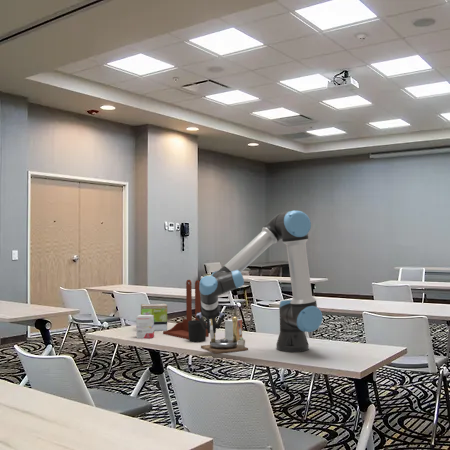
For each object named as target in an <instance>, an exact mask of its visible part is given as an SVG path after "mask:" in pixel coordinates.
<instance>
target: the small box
mask: <svg viewBox="0 0 450 450" xmlns="http://www.w3.org/2000/svg"><path fill="white" fill-rule="evenodd" d="M241 337H242V338H243V319H241V318H238V321H237V342H238V340H239V338H241ZM224 338H226V339H228V340H233V321H232V318H231V319H225V320H224Z"/></svg>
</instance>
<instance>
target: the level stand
mask: <svg viewBox="0 0 450 450" xmlns="http://www.w3.org/2000/svg"><path fill="white" fill-rule="evenodd" d="M200 349H203V350H205V351H208V352H210V353H213V354H216V355H219V354H220V355H221V354H222V355H223V354H230V353H237V352H245V351H246V352H247V351H249V347H246V339H245V338H243V336H242V337H241V338H239V340H238V341H237V347H234V348H224V349H222V348H212V347H210V344H205V345H200Z"/></svg>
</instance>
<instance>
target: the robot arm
mask: <svg viewBox="0 0 450 450" xmlns="http://www.w3.org/2000/svg"><path fill="white" fill-rule="evenodd" d="M310 219H311V218H309V215H308V214H306V213H305V212H304V211H301V210H290V211H289V210H288V211H282V212H280V213H278V214H276V215H274V216H273V218H271V220H269V221H268V222H266V224H265V225H264V226H263V227H262V228H261V232H259V233H258V234H257V235H256V236H255V237H254V238H253V239H251V240H250V242H248V243H247V244H246V245H245V246H244V247H242V248H241V250H239V252H237V254H235V255H234V256H233V257H231V259H230V260H229V261H228V262H226V263H225V264H224V265H223V266H221V268H220V269H218V270H216V271H214V272H212V273H211V275H205V276H203V277H202V278H200V280H199V281H200V284H199V290H200V297H201V312H200V313H199V312H197V314H196V318H197V319H199V321H200V323H201V325H202V327H203V329H207V331H208V333H209V338H210V340H211V339H214V333H215V334H216V332H217V329H218V330H220V329H221V324H222V322H223V320H224V319H225V315H226V312H225V311H222V312H221V311H220V308H219V296H222V295H223V294H226V293H229V292H231V291H233V290H237V289H239V288H241V287H243V286H244V284H245V279H244V276H243V274H242V273H243V271H244V270H246V268H247V267H249V266H250V265H251V264H252V263H253V262H254V261H255V260H256V259H258V258H259V256H261V255H262V254H263V253H264V252H265V251H266V250H267V249H268V248H270V247H271V246H272V245H273V244H277V243H278V242H280V241H281V240H282V243H283V244H284V245H285V246H286V252H287V259H288V261H287V262H288V267H289V277H290V284H291V291H292V299H289V300H287V299H285V300H281V301H280V302H279V306H278V307H279V308H278V309H279V334H278V338H277V340H276V341H277V342H276V347H275V348H276V350H278V351H280V352H291V353H294V352H295V353H296V352H305V351H308V350H309V348H310V345H309V340H308V338H307V336H306V332H307V333H311V332H315V331H316V330H318V329H319V328H320V326H321V325H322V323H323V318H324V317H323V313H322V311H321V309H320V308H319V307H318V302H317V299H316V298H315V297H314V296H313V293H312V284H311V276H310V268H309V261H308V251H307V244H306V243H307V242H308V241H309V232H310V231H311V227H312V223H311V220H310ZM217 317H218V320H217V322H216V321H215V318H216V319H217ZM204 318H205V319H204ZM210 319H212V324H213V325H211V321H210ZM205 321H206V323H207V324H206V323H205Z"/></svg>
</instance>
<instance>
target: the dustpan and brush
mask: <svg viewBox="0 0 450 450" xmlns="http://www.w3.org/2000/svg"><path fill="white" fill-rule="evenodd" d="M199 284H200V280H195V283H194V295H195V296H194V306H195V307H194V309H195V310H194V313H195V314H194V315H195V316H194V317H195V318H194V320H199V319H197V318H196V314H197V312H199V313H200V312H201V310H202V309H201V297H200V290H199ZM185 285H186V286H185V289H186V291H185V292H186V293H185V295H186V296H185V297H186V299H185V300H186V304H185V305H186V309H185V310H186V313H185V314H186V317H185V318H182V321H180V322H179V321H178V322H177V323H175V325H173V327H171V328H170V329H167V331H162V335H166V336H170V337H175V338H179V339H185V340H188V341H189V333H188V321H191V320H193V315H192V314H193V313H192V311H193V310H192V309H193V307H192V305H193V301H192V297H193V295H192V294H193V293H192V285H193V284H192V280H191V279H187V280H186V283H185ZM206 324H207V322H206ZM206 338H210V333H208V331H207V329H206Z"/></svg>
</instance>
